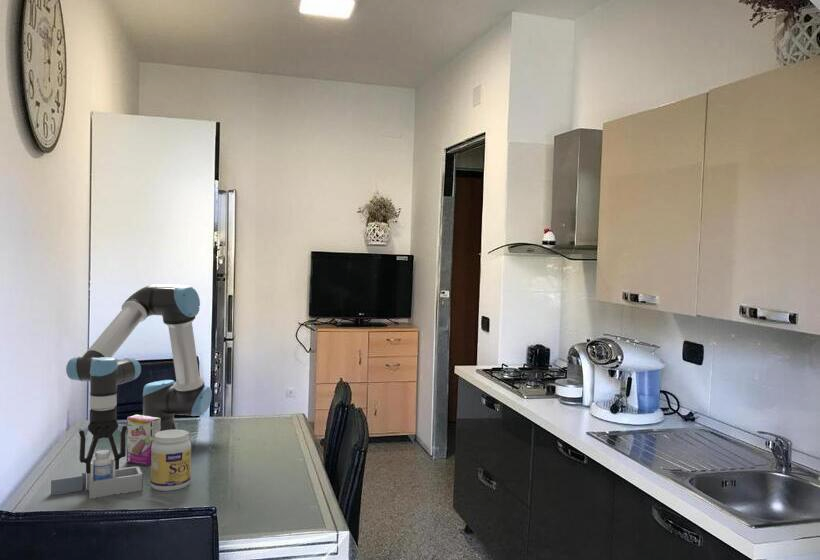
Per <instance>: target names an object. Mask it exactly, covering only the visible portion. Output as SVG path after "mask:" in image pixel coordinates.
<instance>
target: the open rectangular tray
mask: <svg viewBox="0 0 820 560" xmlns="http://www.w3.org/2000/svg"><path fill="white" fill-rule="evenodd" d="M143 490H144V474H143V471H142V470H141V468H140V467H139V465H138V466H137V465H136V466H130V467H122V468H119V469H118V470H115V478H109V479H103V480H96V481H90V474H87V473H86V491H88V492H89V493H88V497H89V499H90V500H91V498H92V499H97V498H96V497H98V498H102V497H101V496H104V497H107V496H106V495H110V496H113V495H112V494H116V495H121V494H120V493H122V494H127V493H128V492H129V493H134V492H140V491H143ZM129 493H128V494H129Z"/></svg>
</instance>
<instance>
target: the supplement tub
mask: <svg viewBox="0 0 820 560" xmlns="http://www.w3.org/2000/svg"><path fill="white" fill-rule="evenodd" d="M189 439H190V436H189V431H188V430H185V429H178V430H164V431H160V432H157V433H155V435H154V441H155V442H154V443H153V444H152V447H151V466H150V486H151V488H152V489H154V490H156V491H162V492H170V491H171V492H173V491H176V490H177V491H178V490H181V489H183V488H185V487H188V486H189V484H190V483H191V476H192V475H191V469H192V465H191V464H192V443H191V441H190V440H189Z"/></svg>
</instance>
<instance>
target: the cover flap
mask: <svg viewBox="0 0 820 560" xmlns="http://www.w3.org/2000/svg"><path fill="white" fill-rule="evenodd" d="M81 491H87V473H86V472H82V473H81V475H74V476H69V477H63V478H62V477H60V478H54V479H50V495H51V496H53V495H61V494H66V493H73V492H81Z"/></svg>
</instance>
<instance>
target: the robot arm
mask: <svg viewBox="0 0 820 560" xmlns="http://www.w3.org/2000/svg"><path fill="white" fill-rule="evenodd" d="M200 306H201V300H200V295H199V293H198V292H197V290H196V288H193V286H190V285H183V284H150V285H147V286H144V287H142V288H140V289H138V290H137V291H135V292H134V293H133V294H131V295H130V296H129V297H128V298H127V299H126V300H125V301H124V302H123V303H122V305H121V310H120V311H119V313H118V314H117V315H116V316H115V318H114V319H113V320H111V322H110V323H109V324H108V326H107V327H106V328H105V329H104V330H103V331H102V332H101V334H100V335H99V336H98V338H97V339H96V340H95V341H94V342H93V343H92V344H91V345H90V347H89V348H88V349H87V350H86V351H85V353H84V354H83V355H82V356H77V357H72V358H70V359H69V360H68V362H67V364H66V368H65V371H66V375H67V377H68V378H69V379H70V380H74V381H80V382H90V385H89V386H90V387H89V388H90V391H89V408H90V410H89V423H88V426H87V427H85V428H80V429H78V433H79V437H80V438H79V439H80V440H79V441H80V442H79V462H80V463H81V464H82V463H85V473H86V475H87V474H90V481H93V468H94V463H93V461H94V460H93V457H94V454H95V452H96V451H95V450H96V447H97V444H98V442H99V439H100V440H101V439H103V438H104V439H107V438H108V441H109V444H110V449H111V451H112V454H113V458H112V478H115V470H118V469H120V459H122V458H125V457H127V450H126V433H127V424H120V423H118V421H117V419H118V418H117V416H118V415H117V413H118V411H117V410H118V409H117V405H118V400H117V399H118V386H119V385H122V384H126V383H129V382H133V380H136V379H138V377H140V375H141V372H142V366H141V364H140V362H139V361H138V360H137V359H136V358H133V357H128V358H127V357H125V358H123V359H117V358H116V357H114V355H115V354H116V353H117V351H118V350H119V349H120V347H122V345H123V344H124V343H125V341H126V340H127V339H128V338H129V336H130V335H131V334H132V333H133V331H134V330H135V328H137V326H138V325H139V323H142V322H144V321H146V319H147V318H149V317H151V316H161V317H162V323H163V324H165V325H166V326H167V328H168V333H169V339H170V340H169V341H170V347H171V352H172V353H171V354H172V360H173V367H174V373H175V379H176V381H175V380H173V379H164V380H163V379H162V380H158V381H153V382H149V383H146V384H145V385H144V387H143V392H142V415H144V416H150V417H157V418H161V431H164V430H179V429H178V426H177V424H176V420H175V415H176V416H177V415H180V416H184V415H185V416H192V417H195V416H198V417H199V416H203V415H204V414H205V413H206V412H207V411H208V410H209V408H210V405H211V402H212V396H213V394H212V393H213V391H212V388H211V387H210V386H208V385H205V380H204V378H202V377H201V376H200V372H199V371H200V370H199V364H198V357H197V350H196V344H195V342H196V341H195V336H194V335H195V334H194V328H193V327H194V326H193V322H194V321H195V319H196V317H197V315H198V314H199V311H200ZM117 429H118V432H119V443H120V444H119V449H120V450H119V451H120V452H119V453H118V449H117V446H116V442H115V438H114V435H113V434H114V432H116V430H117ZM88 432H89V433H91V435H92V438H91V442H90V446H89V449H88V453H87V454H86V441H87V440H86V436H87V435H88ZM85 455H86V456H85Z"/></svg>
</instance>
